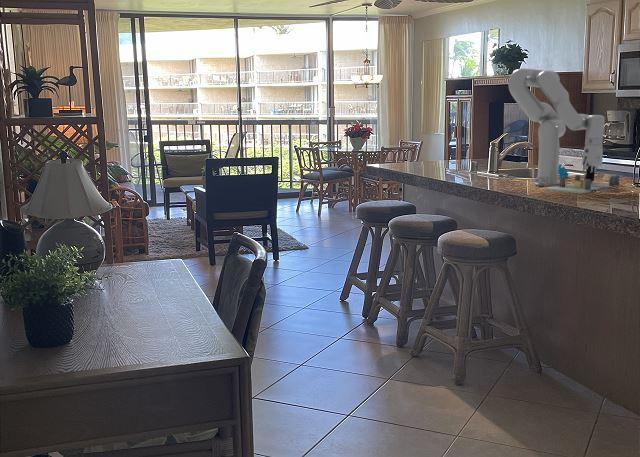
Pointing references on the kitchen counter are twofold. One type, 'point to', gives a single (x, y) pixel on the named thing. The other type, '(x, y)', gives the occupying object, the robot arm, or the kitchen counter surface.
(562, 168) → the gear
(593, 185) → the spacer board
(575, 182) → the nut
